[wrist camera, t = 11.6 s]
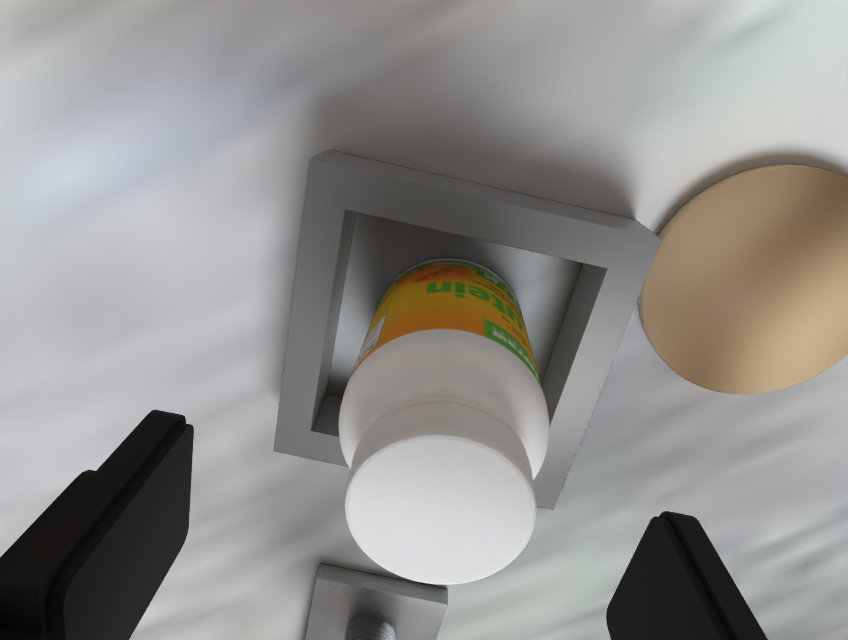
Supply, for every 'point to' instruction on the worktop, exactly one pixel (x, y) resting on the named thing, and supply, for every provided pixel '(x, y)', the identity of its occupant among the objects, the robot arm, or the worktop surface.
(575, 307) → the socket
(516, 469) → the supplement bottle
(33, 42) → the worktop surface
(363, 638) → the post
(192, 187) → the worktop surface
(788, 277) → the coaster
